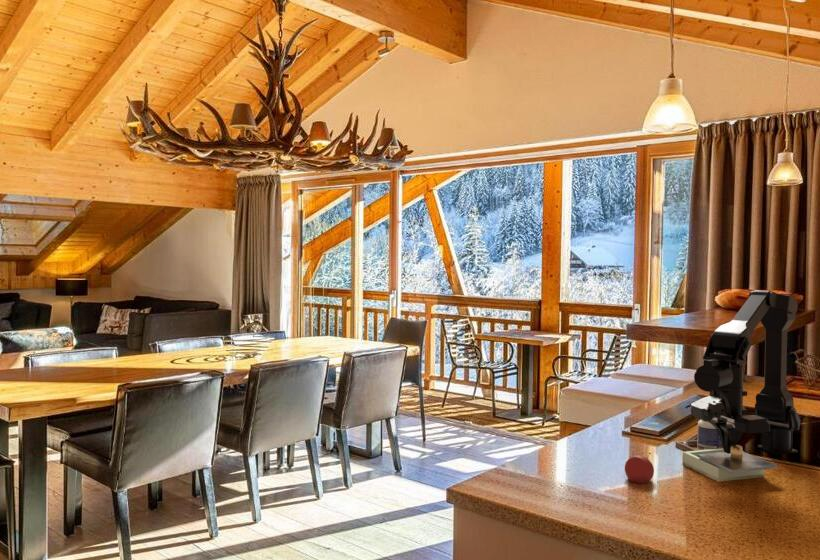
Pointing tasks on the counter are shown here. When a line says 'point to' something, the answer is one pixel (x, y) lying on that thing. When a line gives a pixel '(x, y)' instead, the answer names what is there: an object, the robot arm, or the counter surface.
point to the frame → (690, 443)
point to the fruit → (639, 469)
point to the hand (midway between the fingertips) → (727, 453)
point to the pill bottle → (707, 436)
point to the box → (715, 467)
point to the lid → (737, 460)
